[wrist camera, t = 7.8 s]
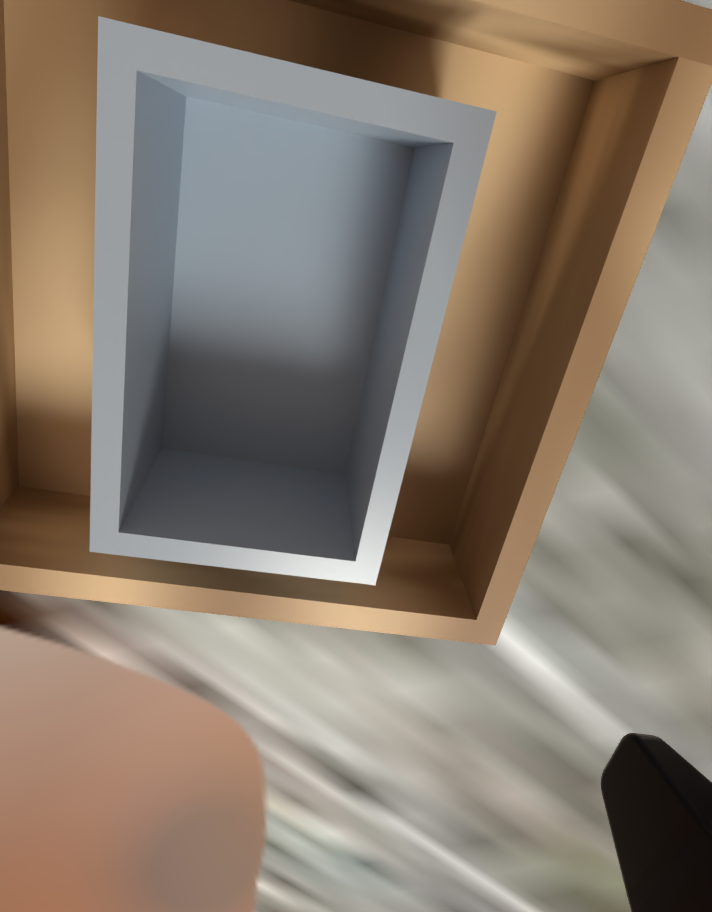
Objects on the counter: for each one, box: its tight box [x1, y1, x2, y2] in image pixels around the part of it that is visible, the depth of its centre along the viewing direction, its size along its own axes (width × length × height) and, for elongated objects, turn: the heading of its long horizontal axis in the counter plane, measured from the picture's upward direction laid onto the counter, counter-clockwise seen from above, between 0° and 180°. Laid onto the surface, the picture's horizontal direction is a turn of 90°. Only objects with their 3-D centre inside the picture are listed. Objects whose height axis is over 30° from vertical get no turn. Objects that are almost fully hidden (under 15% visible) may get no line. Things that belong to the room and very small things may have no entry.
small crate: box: [90, 16, 497, 585], centre depth 14 cm, size 10×6×5 cm, turn 169°
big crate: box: [0, 0, 712, 645], centre depth 15 cm, size 15×15×4 cm
